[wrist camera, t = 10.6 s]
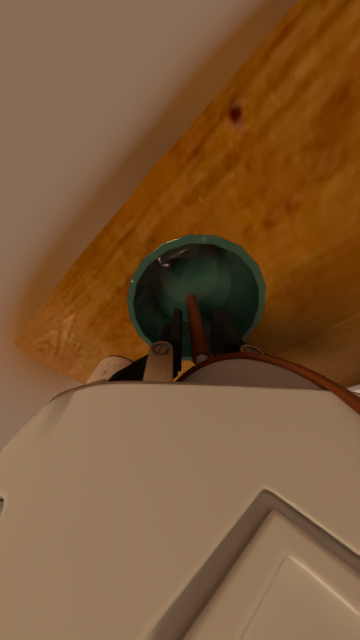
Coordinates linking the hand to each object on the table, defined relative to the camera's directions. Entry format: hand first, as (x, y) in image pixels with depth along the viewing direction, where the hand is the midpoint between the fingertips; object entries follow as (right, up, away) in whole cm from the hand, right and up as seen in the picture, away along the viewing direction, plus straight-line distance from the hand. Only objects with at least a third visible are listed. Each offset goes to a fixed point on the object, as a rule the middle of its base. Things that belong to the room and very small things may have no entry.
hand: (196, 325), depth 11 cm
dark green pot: (0, +6, +10) cm, 11 cm away
